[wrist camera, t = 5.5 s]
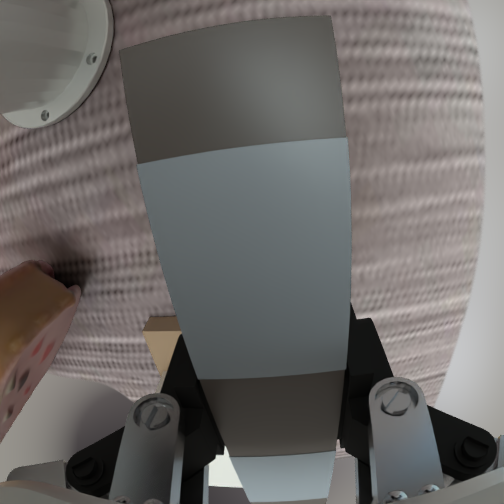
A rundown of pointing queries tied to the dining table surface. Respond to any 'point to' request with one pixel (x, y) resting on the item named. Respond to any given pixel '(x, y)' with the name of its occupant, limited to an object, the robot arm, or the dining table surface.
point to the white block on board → (162, 347)
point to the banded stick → (253, 233)
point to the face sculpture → (30, 331)
